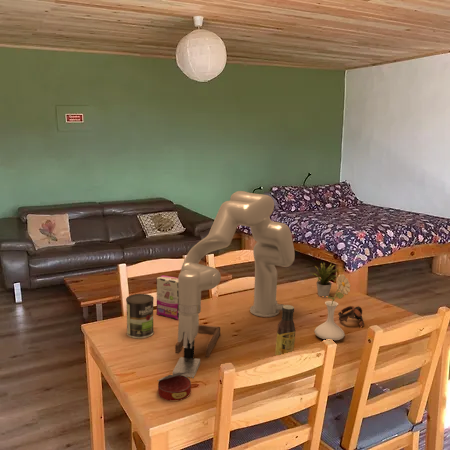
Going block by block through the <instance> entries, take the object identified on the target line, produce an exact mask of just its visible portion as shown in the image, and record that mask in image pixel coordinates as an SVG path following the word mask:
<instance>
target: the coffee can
mask: <svg viewBox="0 0 450 450" xmlns="http://www.w3.org/2000/svg"><path fill="white" fill-rule="evenodd" d="M154 300H155V299H154V297H153V295H151V294H147V293H136V294H131V295H129V296H127V297H126V298H125V302H126V335H127V336H128V337H129V338H131V339H137V340H138V339H141V340H142V339H146V338H150V337H151V336H153V335H154Z"/></svg>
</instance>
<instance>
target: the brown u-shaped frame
mask: <svg viewBox="0 0 450 450" xmlns="http://www.w3.org/2000/svg"><path fill="white" fill-rule="evenodd" d="M198 334H204V335H205V334H206V335H212V336H211V339H210V341H209V342H208V344H207V346H206V348H205V357H206V358H209V357H210V355H211V353H212V351H213V349H214V347H215V346H216V345H215V344H216V343H217V341H218V339H219V337H220V336H221V326H215V325H209V324H208V325H207V324H206V325H205V324H199V329H198ZM183 342H184V338H183V339H182V341H181V342H178V341H177V343H176V344H175V346H174V347H175V354H179V353H180V351H181V350H182V348H183Z"/></svg>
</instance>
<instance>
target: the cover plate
mask: <svg viewBox="0 0 450 450" xmlns="http://www.w3.org/2000/svg"><path fill="white" fill-rule="evenodd" d="M200 365H201V358H196V357H195V358H194V357H193V358H185V357H184V356H183V357H182V356H180V357H179V358H178V360H177V363H176V364H175V366H174V368H173V370H172V375H173V374H175V373H186V374H182V376H185V377H190V378H189V379H194V378H195V377H196V375H197V372H198V371H199V370H198V369H199V368H200ZM194 376H195V377H194ZM191 377H192V378H191Z"/></svg>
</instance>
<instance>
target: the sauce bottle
mask: <svg viewBox="0 0 450 450" xmlns="http://www.w3.org/2000/svg"><path fill="white" fill-rule="evenodd" d="M282 305H283V306H282V310H281V311H282V313H281V314H282V315H281V319H280V320H279V321H278V324H277V331H276V340H275V349H274V350H275V352H274V355H275V356H276V355H281V354H284V353H288V352H292V351H294V352H295V342H296V341H295V340H296V326H295V323H294V313H295V307H294V306H293V305H290V304H282Z"/></svg>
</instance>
